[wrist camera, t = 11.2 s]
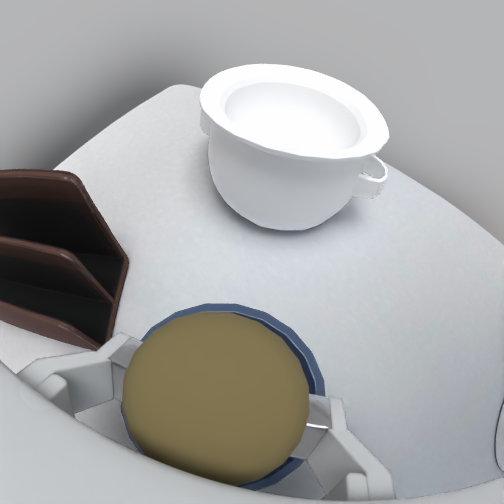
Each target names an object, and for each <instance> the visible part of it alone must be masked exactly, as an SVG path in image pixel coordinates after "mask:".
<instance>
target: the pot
mask: <svg viewBox="0 0 504 504" xmlns="http://www.w3.org/2000/svg"><path fill="white" fill-rule="evenodd" d="M200 105H201V119H200V127H201V129H202V131H203V133H205V134H207V135H209V147H208V160H209V168H210V172H211V175H212V179H213V182H214V184H215V186H216V187H217V189H218V191H219V193H220V194H221V196H222V197H223V199H224V200H225V201H226V203H227V204H228V205H229V206H230V207H232V208H233V209H234V210H235V211H236V212H237V213H239V214H240V215H241V216H243V217H245V218H246V219H248V220H250V221H252V222H253V223H255V224H257V225H258V226H260V227H266V228H272V229H277V230H306V229H308V228H311V227H314V226H317V225H320V224H321V223H323V222H324V221H326V220H327V219H329V218H330V217H332V216H333V215H335V214H336V213H337V212H338V211H339V210H341V209H342V208H343V207H344V206H345V205H346V204H347V203H348V202H349V201H350V200H351V198H352V197H353V196H354V197H361V198H369V199H373V198H375V197H376V196H377V195H378V194H380V192H381V190H382V188H383V186H384V184H385V182H386V180H387V168H386V166H385V165H384V164H383V162H382V161H381V160H380V159H379V158H377V157H376V156H375V155H376V154H377V153H378V152H379V151H380V150H381V149H382V148H383V146H384V145H385V144H386V142H387V141H388V139H389V132H388V128H387V125H386V122H385V120H384V118H383V117H382V115H381V114H380V112H379V110H378V109H377V107H376V106H375V105H374V104H372V102H370V101H369V100H368V99H367V98H366V97H365V96H364V95H363V94H362V93H360V92H358V91H357V90H355V89H353V88H352V87H350V86H349V85H347V84H345V83H343V82H342V81H339V80H337V79H334V78H332V77H330V76H327V75H324V74H321V73H319V72H316V71H312V70H308V69H303V68H298V67H294V66H287V65H275V64H253V65H244V66H239V67H235V68H231V69H228V70H225V71H222V72H220V73H218V74H217V75H215V76H213V77H211V78H210V80H209V81H208V82H207V83H206V84H205V85H204V87H203V88H202V90H201V93H200ZM363 172H365V173H367V174H368V175H370V176H371V177H369V176H366V175H363Z"/></svg>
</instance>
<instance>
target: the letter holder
mask: <svg viewBox="0 0 504 504" xmlns="http://www.w3.org/2000/svg"><path fill="white" fill-rule="evenodd" d="M128 264H129V259H128V257H127V255H126V253H125V252H124V250H123V249H122V248H121V246H120V244H119V243H118V241H117V240H116V238H115V237H114V235H113V234H112V232H111V230H110V228H109V227H108V225H107V223H106V222H105V220H104V218H103V217H102V215H101V213H100V212H99V211H98V209H97V208H96V206H95V204H94V203H93V201H92V199H91V198H90V196H89V194H88V192H87V191H86V189H85V186H84V185H83V183H82V181H81V180H80V178H78V177H77V176H76V175H75V174H73V173H71V172H67V171H59V170H44V169H11V170H10V169H9V170H0V320H2V321H4V322H7V323H9V324H12V325H14V326H17V327H20V328H23V329H26V330H28V331H31V332H33V333H37V334H39V335H43V336H46V337H48V338H52V339H55V340H58V341H62V342H65V343H68V344H71V345H75V346H80V347H83V348H87V349H91V350H94V351H97V350H98V349H100V348H101V347H102V346H103V345H104V344H105V343H107V342H108V341H109V340H110V339H111V335H112V330H113V325H114V320H115V316H116V312H117V307H118V303H119V299H120V295H121V291H122V287H123V283H124V279H125V276H126V272H127V268H128Z"/></svg>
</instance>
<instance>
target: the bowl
mask: <svg viewBox="0 0 504 504" xmlns="http://www.w3.org/2000/svg"><path fill="white" fill-rule="evenodd" d="M202 311H204V312H230V313H234V314H237V315H240V316H243V317H246V318H249V319H252V320H255V321H258V322H259V323H261V324H262V325H264V326H265V327H266V328H268V329H269V330H271V331H272V332H274V333H275V334H277V335H278V336H280V337H281V338H282V339H283V340H284V342H285V343H286V344H287V346H288V347H289V348H290V349H291V351H292V352H293V353H294V354H295V356H296V357H297V358H298V359H299V361H300V364H301V367H302V369H303V372H304V375H305V377H306V380H307V383H308V385H309V394H313V395H318V396H324V397H325V386H324V380H323V377H322V375H321V372H320V370H319V367H318V365H317V363H316V360H315V358H314V356H313V353H312V352H311V350H310V349H309V348H308V347H307V346H306V345H305V343H304V342H303V341H302V340H301V339H300V338H299V336H298V335H297V334H296V333H295V332H294V331H293V330H292V329H291V328H290V327H288V326H286V325H285V324H283V323H282V322H280V321H279V320H277V319H275V318H274V317H272V316H271V315H269V314H268V313H266V312H263V311H259V310H256V309H252V308H249V307H246V306H242V305H239V304H202V305H199V306H195V307H192V308H188V309H185V310H181V311H178V312H177V313H176V312H175V313H174V314H172V315H171V316H169V317H167V318H166V319H164V320H163V321H161V322H160V323H158V324H157V325H155V326H153V327H152V328H151V329H150V330H149V331H148V332H147V333H146V335H145V336H144V337H143V338H142V340H141V341H142V342H144V341H145V339H146V338H147V337H148V336H149V335H150V334H151V333H152V332H153V331H155V330H156V329H158V328H160V327H161V326H163V325H165V324H166V323H168V322H170V321H171V320H173V319H175V318H178V317H182V316H186V315H190V314H194V313H198V312H202ZM121 412H122V416H123V419H124V422H125V425H126V428H127V432H128V435H129V437H130V439H131V441H132V442H133V444H134V445H135V447H136V448H137V449H138V451H139V452H140V453H141V454H142V455H144V454H143V452H142V451H141V449H140V448H139V446H138V445H137V443H136V442H135V440H134V439H133V437H132V436H131V434H130V433H129V430H128V426H127V423H126V419H125V415H124V412H123V408H122V402H121ZM304 460H305V459H301V458H295V457H290V456H289V457H288V458H287V460H286V461H285V462H284V463H283V464H282V465H281V466H279V467H278V468H276V469H275V470H273V471H272V472H270V473H269V474H267V475H266V476H264V477H262V478H261V479H259V480H257V481H253V482H249V483H246V484H242V485H238V486H236V487H240V488H244V489H249V490H253V491H256V490H259V489H262V488H265V487H268V486H271V485H273V484H276V483H277V482H279V481H280V480H281V479H283V478H284V477H286V476H287V475H288V474H290V473H291V472H292V471H294V470H295V469H296V468H298V467H299V466H300V465H301V464H302V462H303V461H304Z"/></svg>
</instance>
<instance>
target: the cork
mask: <svg viewBox="0 0 504 504" xmlns="http://www.w3.org/2000/svg"><path fill="white" fill-rule="evenodd" d="M122 408H123V412H124V415H125V419H126V423H127V426H128V430H129V433H130V434H131V436H132V437H133V439H134V440H135V442H136V443H137V445H138V446H139V448H140V449H141V451H142V452H143V454H144V455H145V456H147V457H149V458H151V459H154V460H156V461H159V462H161V463H164V464H166V465H169V466H171V467H174V468H177V469H179V470H182V471H185V472H188V473H191V474H194V475H197V476H200V477H203V478H206V479H210V480H213V481H216V482H220V483H224V484H228V485H232V486H238V485H242V484H246V483H249V482H253V481H257V480H259V479H261V478H262V477H264V476H266V475H267V474H269V473H270V472H272V471H273V470H275V469H276V468H278V467H279V466H281V465H282V464H283V463H284V462H285V461H286V460H287V458H288V457H289V456H290V455H291V453H292V452H293V451H294V449H295V448H296V447H297V445H298V444H299V443H300V441H301V439H302V436H303V433H304V430H305V427H306V424H307V421H308V417H309V414H310V410H309V385H308V383H307V380H306V377H305V375H304V372H303V369H302V367H301V364H300V361H299V359H298V358H297V357H296V356H295V354H294V353H293V352H292V351H291V349H290V348H289V347H288V346H287V344H286V343H285V342H284V340H283V339H282V338H281V337H280V336H278V335H277V334H275V333H274V332H272V331H271V330H269V329H268V328H266V327H265V326H264V325H262V324H261V323H259V322H258V321H255V320H252V319H249V318H246V317H243V316H240V315H237V314H234V313H230V312H204V311H202V312H198V313H194V314H190V315H186V316H182V317H178V318H175V319H173V320H171V321H170V322H168V323H166V324H165V325H163V326H161V327H160V328H158V329H156V330H155V331H153V332H152V333H151V334H150V335H149V336H148V337H147V338H146V339H145V341H144V342H143V343H142V344H141V345H140V346H139V347H138V349H137V350H136V351H135V352H134V354H133V356H132V358H131V361H130V363H129V366H128V368H127V370H126V373H125V375H124V378H123V392H122Z"/></svg>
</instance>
